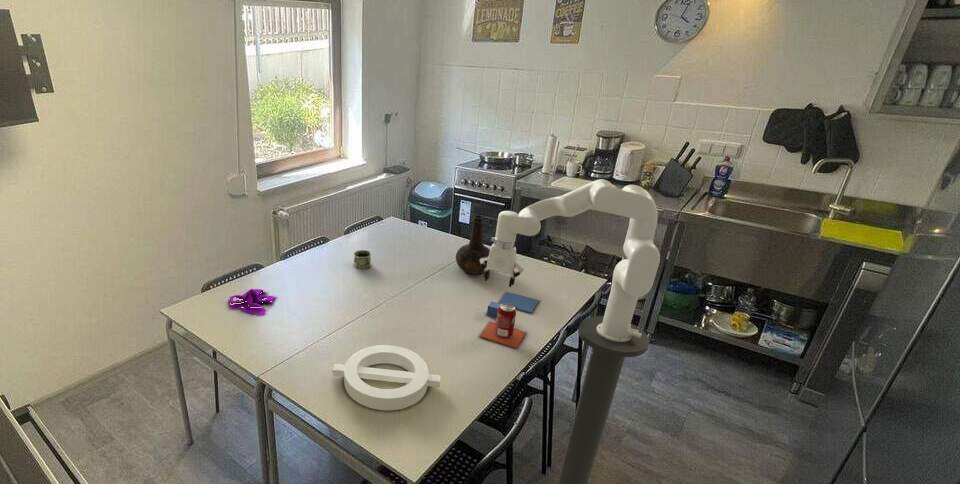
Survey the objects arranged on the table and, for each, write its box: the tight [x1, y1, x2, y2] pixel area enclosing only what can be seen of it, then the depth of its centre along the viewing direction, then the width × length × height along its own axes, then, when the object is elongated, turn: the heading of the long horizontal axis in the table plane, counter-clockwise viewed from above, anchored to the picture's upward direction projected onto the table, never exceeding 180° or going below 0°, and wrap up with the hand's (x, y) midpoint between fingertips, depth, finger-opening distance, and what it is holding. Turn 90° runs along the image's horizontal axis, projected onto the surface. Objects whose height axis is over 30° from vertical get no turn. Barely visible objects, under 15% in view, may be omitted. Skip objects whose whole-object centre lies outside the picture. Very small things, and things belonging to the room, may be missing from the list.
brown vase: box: [455, 214, 491, 275], centre depth 234 cm, size 18×18×28 cm
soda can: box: [495, 303, 517, 337], centre depth 186 cm, size 7×7×12 cm
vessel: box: [353, 249, 372, 269], centre depth 244 cm, size 12×9×6 cm
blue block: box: [486, 301, 501, 319], centre depth 202 cm, size 4×4×4 cm
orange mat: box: [479, 321, 526, 349], centre depth 189 cm, size 14×12×1 cm
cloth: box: [228, 288, 276, 316], centre depth 210 cm, size 22×19×6 cm
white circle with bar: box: [332, 344, 441, 411], centre depth 164 cm, size 28×28×5 cm
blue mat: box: [498, 291, 540, 314], centre depth 211 cm, size 14×12×1 cm
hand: (498, 282), depth 195 cm, fingers open, 9 cm apart
